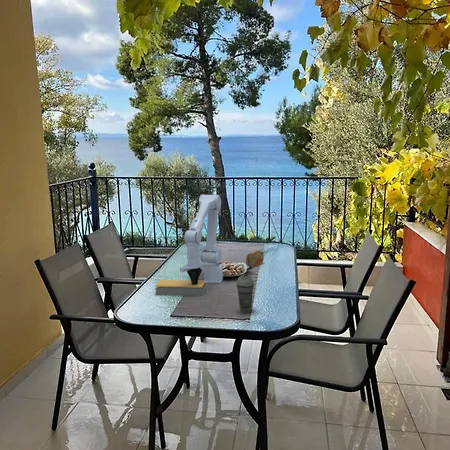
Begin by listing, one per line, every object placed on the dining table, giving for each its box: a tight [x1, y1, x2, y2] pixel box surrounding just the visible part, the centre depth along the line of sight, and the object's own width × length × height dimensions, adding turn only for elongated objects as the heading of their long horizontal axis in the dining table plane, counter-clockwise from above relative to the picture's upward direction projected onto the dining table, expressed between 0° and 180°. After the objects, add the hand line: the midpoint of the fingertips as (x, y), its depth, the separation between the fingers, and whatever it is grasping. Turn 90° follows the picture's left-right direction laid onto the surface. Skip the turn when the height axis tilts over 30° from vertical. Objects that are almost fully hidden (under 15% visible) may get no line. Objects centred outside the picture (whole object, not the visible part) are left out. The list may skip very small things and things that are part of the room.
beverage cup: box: [236, 263, 255, 314], centre depth 175 cm, size 7×7×20 cm
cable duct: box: [155, 283, 206, 297], centre depth 202 cm, size 22×9×4 cm, turn 84°
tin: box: [245, 250, 265, 269], centre depth 243 cm, size 15×3×8 cm, turn 143°
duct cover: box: [155, 279, 206, 288], centre depth 201 cm, size 22×9×1 cm, turn 84°
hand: (194, 284), depth 199 cm, fingers closed, pressing on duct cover
